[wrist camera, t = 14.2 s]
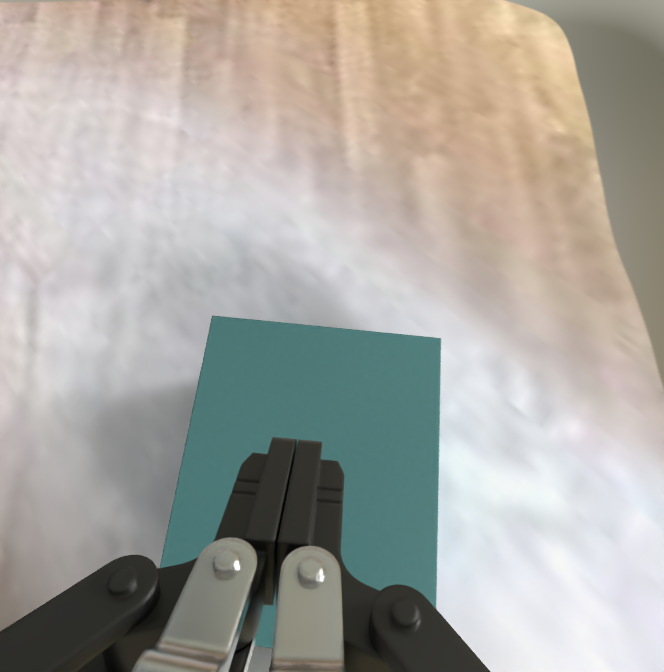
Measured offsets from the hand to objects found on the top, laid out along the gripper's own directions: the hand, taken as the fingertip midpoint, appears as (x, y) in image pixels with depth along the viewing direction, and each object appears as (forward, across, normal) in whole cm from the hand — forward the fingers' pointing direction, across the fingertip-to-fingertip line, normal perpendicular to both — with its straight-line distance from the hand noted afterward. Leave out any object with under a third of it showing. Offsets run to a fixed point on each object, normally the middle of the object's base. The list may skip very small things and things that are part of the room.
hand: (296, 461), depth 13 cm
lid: (+9, 0, +9) cm, 13 cm away
